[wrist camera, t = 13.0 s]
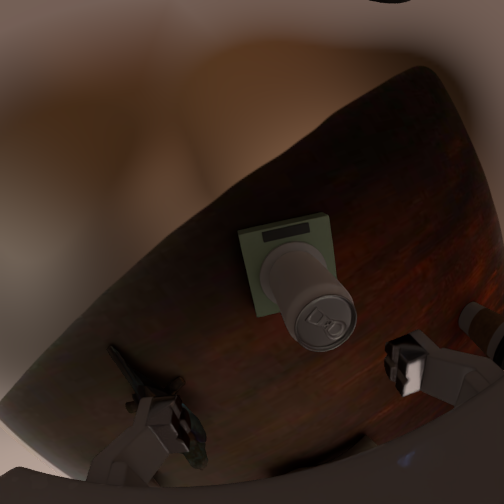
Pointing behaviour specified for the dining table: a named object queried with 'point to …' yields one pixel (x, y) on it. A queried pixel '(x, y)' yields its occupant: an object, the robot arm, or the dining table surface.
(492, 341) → the coffee cup
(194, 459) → the bird figurine
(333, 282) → the can
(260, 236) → the scale
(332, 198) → the dining table surface
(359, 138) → the dining table surface
